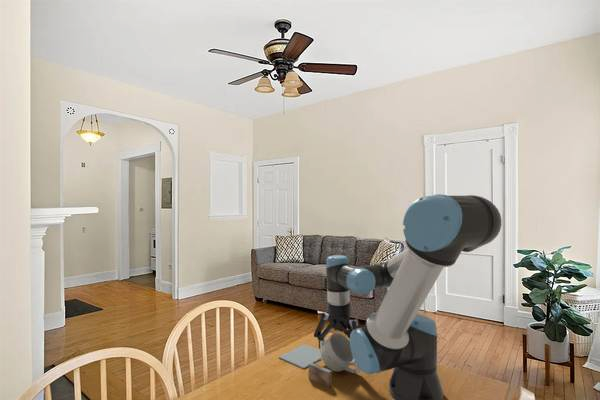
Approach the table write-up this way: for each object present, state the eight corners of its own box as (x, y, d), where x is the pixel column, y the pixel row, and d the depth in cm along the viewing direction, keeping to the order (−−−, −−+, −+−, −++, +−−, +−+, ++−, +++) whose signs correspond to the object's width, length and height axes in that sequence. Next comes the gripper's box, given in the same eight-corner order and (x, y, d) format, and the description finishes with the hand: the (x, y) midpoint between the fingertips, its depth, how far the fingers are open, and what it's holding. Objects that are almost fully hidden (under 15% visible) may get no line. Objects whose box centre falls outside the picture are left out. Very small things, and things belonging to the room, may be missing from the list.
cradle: (364, 362, 118) (364, 349, 118) (328, 387, 102) (328, 372, 102) (345, 355, 123) (345, 343, 123) (308, 378, 108) (308, 364, 108)
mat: (328, 354, 124) (328, 353, 124) (303, 369, 114) (303, 367, 114) (304, 345, 132) (304, 344, 132) (278, 358, 122) (278, 356, 122)
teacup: (311, 351, 113) (325, 338, 109) (328, 339, 121) (341, 327, 118) (337, 390, 107) (353, 378, 103) (353, 375, 116) (368, 363, 112)
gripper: (378, 306, 107) (380, 372, 107) (316, 293, 124) (318, 350, 124) (366, 312, 102) (368, 382, 102) (302, 298, 118) (304, 358, 118)
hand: (340, 365), depth 113 cm, fingers closed on teacup, 14 cm apart
